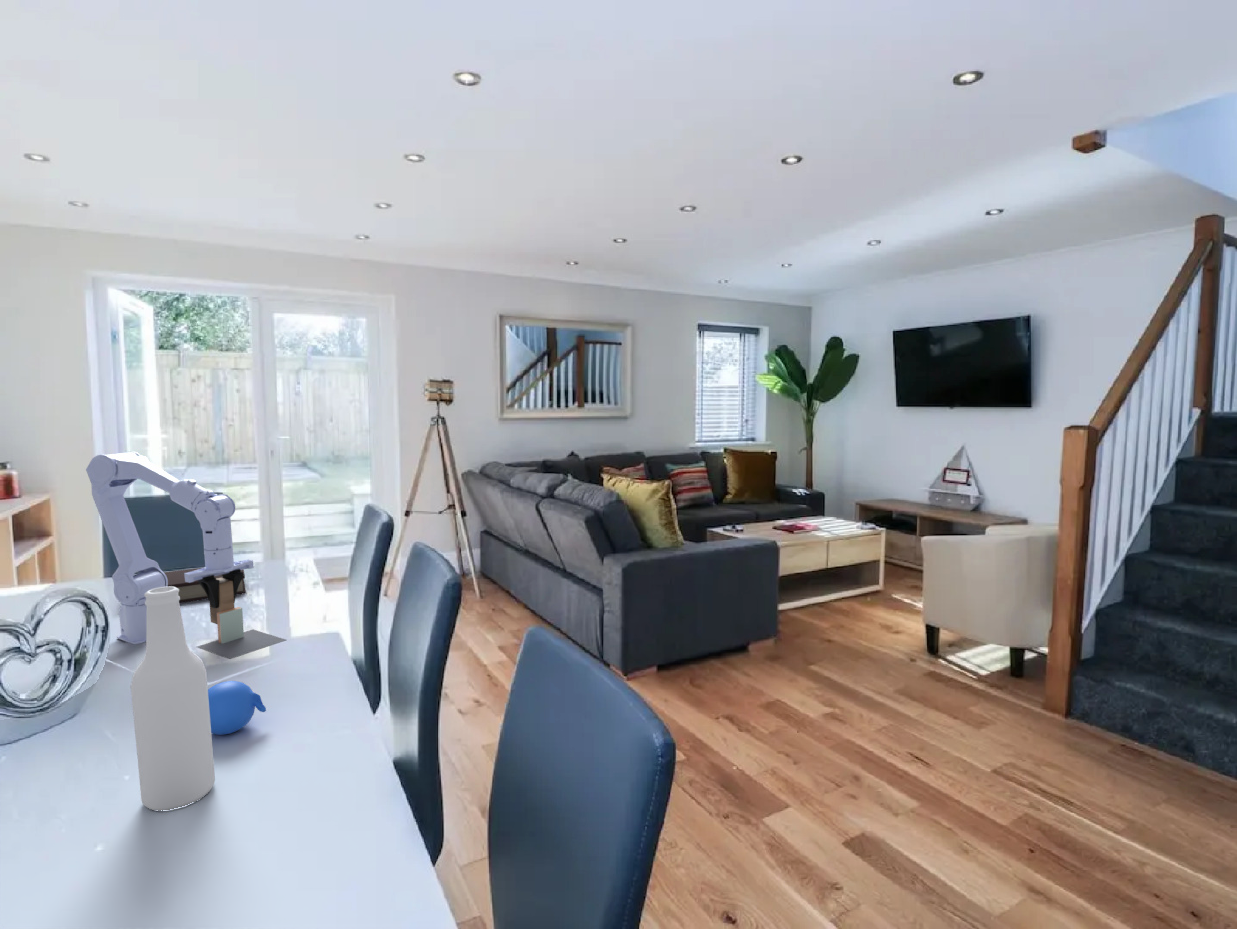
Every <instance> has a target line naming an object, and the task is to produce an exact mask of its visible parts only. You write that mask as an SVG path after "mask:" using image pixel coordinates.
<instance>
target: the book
mask: <svg viewBox="0 0 1237 929" xmlns="http://www.w3.org/2000/svg"><path fill="white" fill-rule="evenodd" d="M204 567H205V566H204ZM204 567H197V568H196V567H195V568H188V569H179V570H172V571H163V572H164V573H165V575H166V576H167V579H168V585H167V587H169V586H171V587H176V588H178V589H179V592H178V596H180V600H179V604H183V603H192V602H198V601H197V600H199V601H203V600H202V599H206V598H208V596H207V594H206V593H205V591H204V589H203V588H202V586H201V585H200V584H199V583H198V580H196V581H194V582H191V583H189V582H185V575H184V573H188V572H192V571H195V570H198V569H201V568H204ZM244 570H245V569H244ZM244 570H240V571H241V572H243V574H244V575H243V578H242V580H241V582H240V584H239V587H238V589H237V593H236V594H240V595H243V594H242V593H246V594H247V590H246V583H245V578H246V575H245V571H244ZM214 578H216V579H217V578H223V576H222V575H218V576H214ZM206 600H207V599H206ZM191 601H192V602H191Z"/></svg>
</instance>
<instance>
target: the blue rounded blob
mask: <svg viewBox="0 0 1237 929" xmlns="http://www.w3.org/2000/svg"><path fill="white" fill-rule="evenodd" d="M208 699H209V711H210V723H211V735H212V734H213V735H219V736H224V735H228V734H232V733H235V732H237V731H240V730H241V729H243V728H244V727H245V726H246V725H248V723H249V722H250V721H251V719H252V718H253V716H254V714H255V709H256V710H258V711H259V712H260V713H266V711H267V709H266V708H267V707H266V706H265V705H264V703H263V700H262V698H261V696H260V695H259V694H258V693H256V692H254V691H253V690H252V688H251V687H250V686H249V685H247V684H246V683H244V682H241V681H237V680H227V681H222V682H219V683H216V684H215V685H212V686H211V687H209V688H208Z"/></svg>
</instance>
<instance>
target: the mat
mask: <svg viewBox="0 0 1237 929" xmlns="http://www.w3.org/2000/svg"><path fill="white" fill-rule="evenodd" d="M285 641H287V639H286V638H282V637H278V636H276V635H272V634H271V633H270V634H269V633H266V632H263V631H259V630H256V629H249V630H246V631H244V637H242V638H239V639H236V640H232V641H229V642H226V643H223V644H221V643H219V641H218V639H217V640H214V641H210V642H208V643H204V644H202V645H198V646H196V648H198V649H200V650H201V649H202V650H203V651H207V652H209V653H212V654H215V655H217V656H220V657H222V658H226V659H227V660H228V659H229V660H231V659H234V658H237V657H240V656H244V655H247V654H249V653H252V652H255V651H258V650H262V649H264V648H267V647H270V646H273V645H276V644H279V643H282V642H285Z"/></svg>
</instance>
